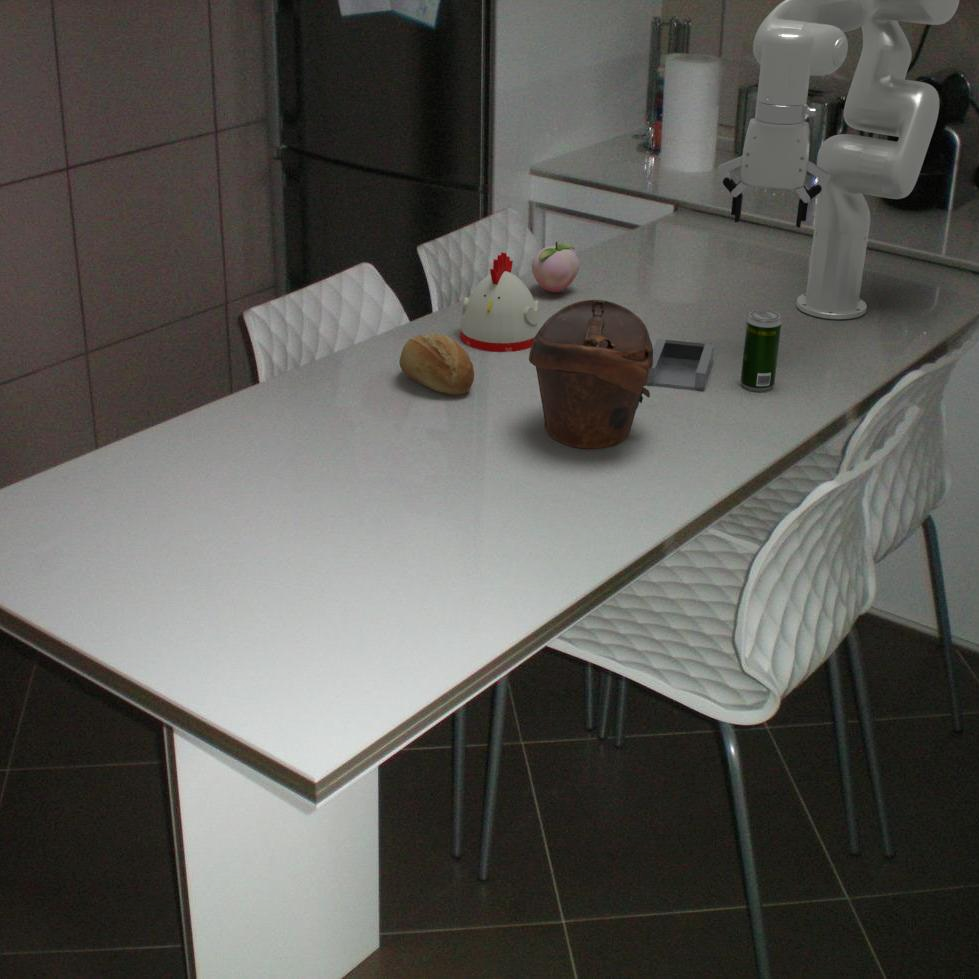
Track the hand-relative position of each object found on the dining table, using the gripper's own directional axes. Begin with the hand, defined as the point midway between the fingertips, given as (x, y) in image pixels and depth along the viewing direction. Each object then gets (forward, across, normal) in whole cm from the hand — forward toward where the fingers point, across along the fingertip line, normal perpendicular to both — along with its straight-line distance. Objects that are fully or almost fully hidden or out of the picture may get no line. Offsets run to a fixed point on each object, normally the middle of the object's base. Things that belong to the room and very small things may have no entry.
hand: (767, 222), depth 219 cm
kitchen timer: (+24, +43, 0) cm, 49 cm away
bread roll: (+25, +48, +23) cm, 59 cm away
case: (+25, +21, +34) cm, 47 cm away
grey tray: (+24, +11, +8) cm, 28 cm away
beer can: (+24, -2, +10) cm, 26 cm away
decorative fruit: (+24, +39, -25) cm, 52 cm away
